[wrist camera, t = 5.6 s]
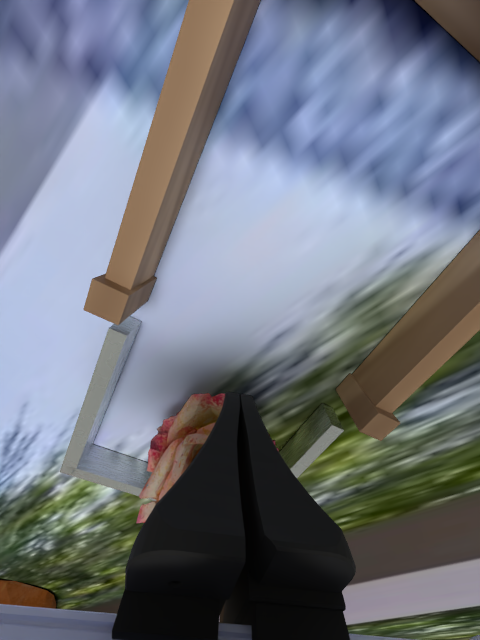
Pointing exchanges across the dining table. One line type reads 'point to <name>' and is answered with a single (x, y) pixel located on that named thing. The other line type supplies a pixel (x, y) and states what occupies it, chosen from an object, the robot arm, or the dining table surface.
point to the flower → (178, 446)
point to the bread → (25, 595)
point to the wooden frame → (176, 173)
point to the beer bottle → (222, 615)
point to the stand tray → (133, 472)
